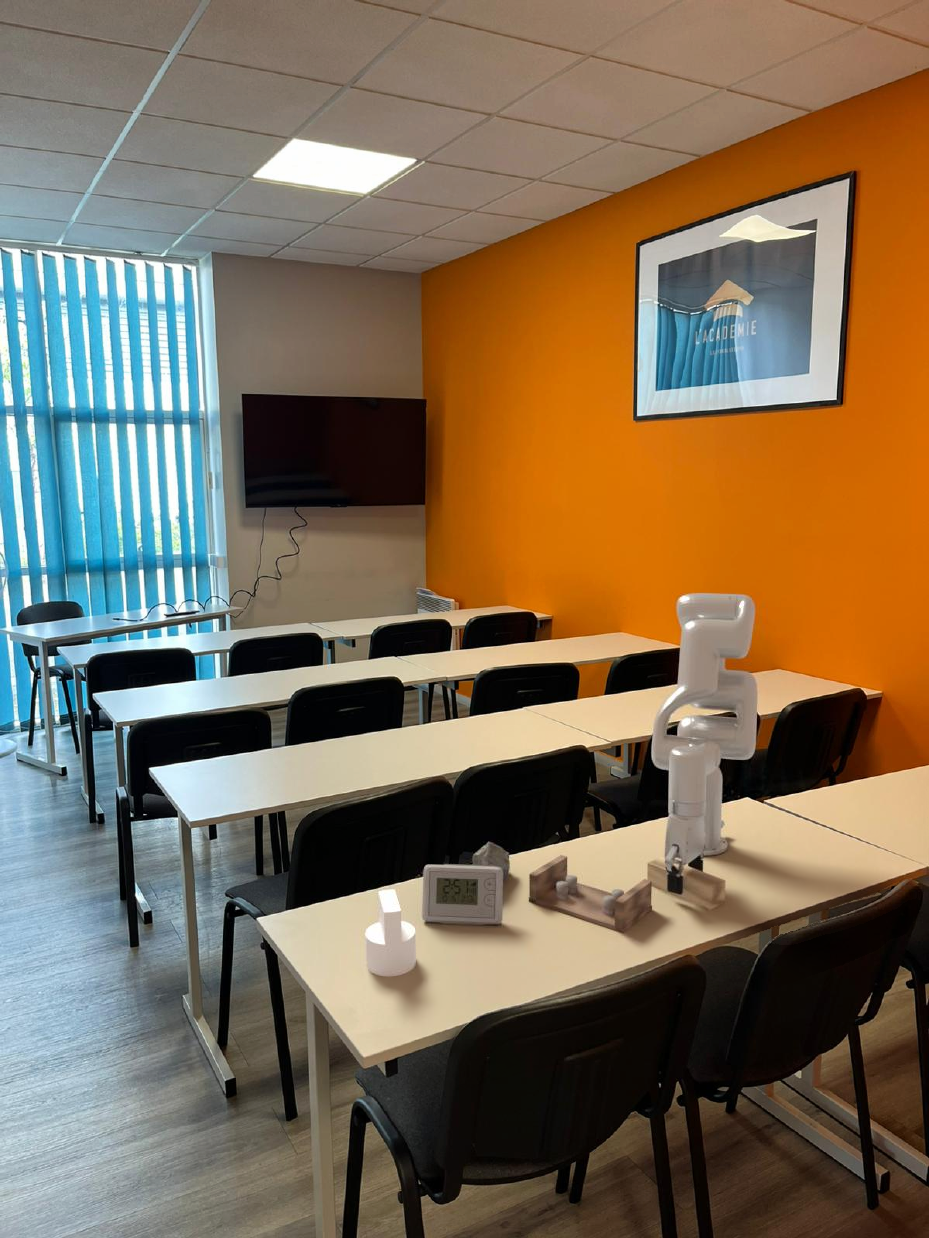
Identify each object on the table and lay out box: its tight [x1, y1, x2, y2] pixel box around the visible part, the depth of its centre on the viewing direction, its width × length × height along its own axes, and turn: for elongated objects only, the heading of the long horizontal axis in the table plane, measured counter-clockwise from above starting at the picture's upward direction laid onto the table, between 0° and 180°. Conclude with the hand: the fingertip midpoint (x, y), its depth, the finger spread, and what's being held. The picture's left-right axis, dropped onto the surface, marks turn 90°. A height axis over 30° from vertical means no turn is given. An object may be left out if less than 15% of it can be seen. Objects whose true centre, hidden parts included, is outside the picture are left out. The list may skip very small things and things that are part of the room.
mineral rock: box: [472, 841, 511, 879], centre depth 193 cm, size 13×11×10 cm
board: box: [646, 856, 726, 911], centre depth 188 cm, size 5×16×5 cm, turn 40°
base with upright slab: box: [364, 889, 417, 977], centre depth 162 cm, size 9×9×12 cm
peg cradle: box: [528, 854, 653, 933], centre depth 183 cm, size 12×22×6 cm, turn 51°
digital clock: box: [421, 863, 504, 926], centre depth 178 cm, size 16×9×11 cm, turn 72°
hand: (685, 884), depth 188 cm, fingers open, 9 cm apart
